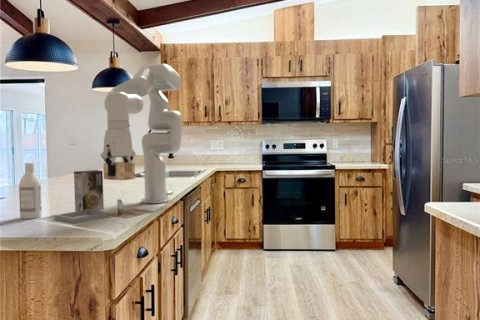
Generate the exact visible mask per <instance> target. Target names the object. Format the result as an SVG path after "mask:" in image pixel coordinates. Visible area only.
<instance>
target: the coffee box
mask: <svg viewBox="0 0 480 320" xmlns="http://www.w3.org/2000/svg"><path fill="white" fill-rule="evenodd" d="M103 180H104V174H103V170H98V169H94V170H93V169H91V170H88V169H87V170H79V171H77V170H75V171H73V183H74V187H73V188H74V189H73V190H74V212H76V211H81V210H87V209H90V210H97V211H101V210H104V209H105V208H104V207H105V203H104V185H103V184H104V182H103Z"/></svg>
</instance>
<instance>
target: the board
mask: <svg viewBox="0 0 480 320" xmlns="http://www.w3.org/2000/svg"><path fill="white" fill-rule="evenodd" d="M155 212H157V211H155V210H147V209H142V208H141V209H139V208H131V209H127V210H123V215H118V211H116V212H112V213H111V212H109V217H114V218H121V219H130V218H135V217H139V216H143V215H147V214H151V213H152V214H153V213H155Z"/></svg>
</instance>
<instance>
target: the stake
mask: <svg viewBox="0 0 480 320" xmlns="http://www.w3.org/2000/svg"><path fill="white" fill-rule="evenodd" d="M116 200H117V201H116V203H117V204H116V205H117V212H118V215H123V211H124V199H123V198H122V199H121V198H119V199H116Z"/></svg>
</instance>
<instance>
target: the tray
mask: <svg viewBox="0 0 480 320" xmlns="http://www.w3.org/2000/svg"><path fill="white" fill-rule="evenodd" d="M109 214H110V212H109V211H105V210H104V211H103V210H90V209H87V210H81V211H76V212H75V211H71V212H64V213H61V214H55V215H54V220H55V221H60V222H66V223H71V224H80V223H85V222H90V221H93V220H99V219H103V218H108V217H110V216H109ZM84 215H85V216H84ZM78 216H80V217H78Z"/></svg>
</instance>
